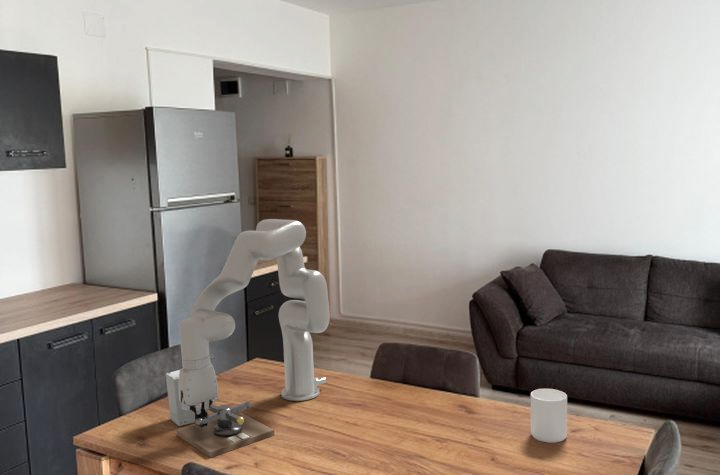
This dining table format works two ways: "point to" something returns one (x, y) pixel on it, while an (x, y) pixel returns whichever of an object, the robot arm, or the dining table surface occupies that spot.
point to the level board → (218, 445)
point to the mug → (549, 415)
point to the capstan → (225, 419)
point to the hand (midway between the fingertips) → (202, 425)
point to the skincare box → (177, 401)
